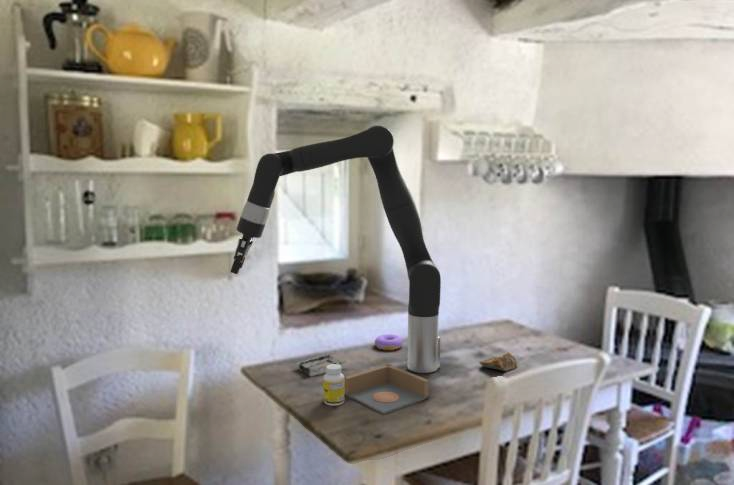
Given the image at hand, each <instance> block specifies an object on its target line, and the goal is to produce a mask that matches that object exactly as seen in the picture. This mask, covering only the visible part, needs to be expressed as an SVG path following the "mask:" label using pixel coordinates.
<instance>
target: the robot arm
mask: <svg viewBox="0 0 734 485" xmlns="http://www.w3.org/2000/svg"><path fill="white" fill-rule="evenodd" d="M394 145H395V138H394V135H393V133H392V132H391V131H390V129H389V128H387V127H385V126H383V125H373V126H370V127H369V128H367V129H365V130H363V131H361V132H359V133H356V134H352V135H350V136H346V137H342V138H339V139H334V140H329V141H322V142H317V143H313V144H312V143H311V144H307V145H302V146H299V147H294V148H293V149H291V150H286V151H281V152H274V153H266V154H264V155H262V156H261V157H260V159H259V160H258V163H257V165H256V168H255V173H254V178H253V183H252V186H251V188H250V191H249V194H248V196H247V199H246V202H245V204H244V206H243V208H242V212H241V213H240V217H239V220H238V223H237V226H236V231H237V232H239V233H240V234H242V237H241V238H242V239H240V238H239V239H238V241H237V245H236V249H235V254H234V256H233V262H232V265H231V269H230V273H232V274H235V275H238V273H239V272H240V269H242V267H243V265H244V262H245V259H246V257H247V256H248V251H249V249H250V250H251V248H252V246H253V243H254V241H253V239H254V238H256V239H260V238H261V237H262V236H263V232H264V229H265V227H266V224H267V221H268V218H269V216H270V215H269V214H270V210H271V206H272V203H273V201H274V197H275V193H276V192H275V190H276V187H277V184H278V182H279V179H280V177H282V176H287V175H290V174H294V173H299V172H305V171H311V170H315V169H319V168H323V167H326V166H329V165H333V164H336V163H339V162H340V163H341V162H343V161H348V160H354V159H360V158H361V159H362V158H367V159H368V161H369V164H370V166H371V168H372V171H373V173H374V176H375V179H376V182H377V186H378V187H377V188H378V191H379V195H380V199H381V204H382V206H383V210H384V213H385V216H386V219H387V222H388V224H389V226H390V228H391V231H392V233H393V235H394V238H395V239H396V240H397V242H398V244H399V247H400V249H401V252H402V255H403V260H404V263H405V268H406V271H407V277H408V280H409V282H408V283H409V284H408V285H409V286H408V287H409V288H408V289H409V290H408V292H409V293H408V294H409V295H408V306H407V310H408V311H407V312H408V313H407V369H408V370H409V371H411V372H413V373H417V374H418V373H419V374H429V373H433V372H436V371H437V370H438V369H439V368H440V367H441V337H440V336H439V320H440V319H439V315H440V312H439V311H440V306H441V289H442V288H441V283H442V282H441V281H442V280H441V278H442V277H441V273H440V270H439V269H438V267H437V266H436V264H435V263H434V261H433V259H432V257H431V254H430V253H429V251H428V247H427V245H426V242H425V239H424V234H423V229H422V228H423V227H422V222H421V218H420V213H419V212H418V209H417V205H416V202H415V200H414V197H413V195H412V192H411V191H410V188H409V186H408V184H407V182H406V180H405V178H404V177H403V174H402V173H401V171H400V168H399V166H398V162H397V158H396V154H395V151H394ZM251 238H252V241H251V242H250V240H251ZM249 252H250V251H249ZM245 256H246V257H245Z"/></svg>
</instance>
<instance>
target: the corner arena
mask: <svg viewBox="0 0 734 485" xmlns="http://www.w3.org/2000/svg"><path fill="white" fill-rule="evenodd" d="M429 381H430V380H429V379H427V378H424V377H422V376H420V375H416V374H414V373H412V372H410V371H407V370H404V369H402V368H400V367H396V366H394V365H391V364H389V363H388V364H385V365H381V366H378V367H373V368H372V369H368V370H365V371H360V372H356V373H354V374H351V375H347V376H344V396H346V397H348V398H350V399H352V400H354V401H355V402H358V403H360V404H362V405H364V406H366V407H368V408H370V409H371V410H374V411H376V412H378V413H380V414H382V415H386V414H389V413H391V412H395V411H397V410H399V409H403V408H405V407H409V406H410V405H413V404H416V403H418V402H422V401H424V400H427V399H429V392H430V390H429V389H430V388H429V387H430V386H429V383H430V382H429Z"/></svg>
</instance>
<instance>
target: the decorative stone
mask: <svg viewBox="0 0 734 485" xmlns="http://www.w3.org/2000/svg"><path fill="white" fill-rule="evenodd" d="M478 364H480V365H481V366H482V367H484V368H489V369H493V370H498V371H502V372H503V371H504V372H508V371H513V370H514V369H515V368H516V366H517V359H516V357H515V356H514V355H512V354H511V353H510V352H508V351H507V352H506V353H503V354H502V355H500V356H491V357H488V358H486V359H482V360H479V361H478Z"/></svg>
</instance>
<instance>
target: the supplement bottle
mask: <svg viewBox="0 0 734 485" xmlns="http://www.w3.org/2000/svg"><path fill="white" fill-rule="evenodd" d="M325 366H326V372H327V373H324V374H323V401H324V404H325V405H328V406H330V407H331V406H333V407H335V406H336V407H337V406H340V405H342V404H344V403H345V375H344V374H343V372H342V369H341V365H339V364H335V363H331V364H328V365H325Z"/></svg>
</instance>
